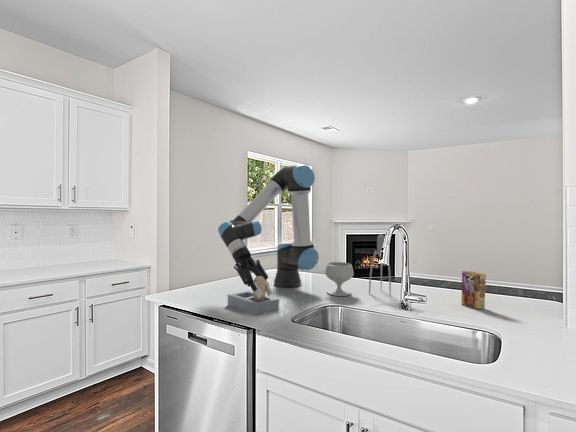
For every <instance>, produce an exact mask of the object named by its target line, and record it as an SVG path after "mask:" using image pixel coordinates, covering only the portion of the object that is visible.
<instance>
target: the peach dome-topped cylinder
mask: <svg viewBox="0 0 576 432" xmlns="http://www.w3.org/2000/svg"><path fill="white" fill-rule="evenodd" d="M253 281H254V282H256V283H257V285H258V287H259V288H260V290H261V292H262V293H263V295H262V297H261V298H259V299H258V297H257V295H256V293H255V292H254V291H253V290H252V291H253V301H256V302H261V301H265V295H266V292H265V279H264V277H262V276H257V277H256V276H255V277H254V278H253ZM254 282H253V283H254Z"/></svg>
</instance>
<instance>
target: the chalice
mask: <svg viewBox="0 0 576 432" xmlns="http://www.w3.org/2000/svg"><path fill="white" fill-rule="evenodd" d="M324 271H325V276H326V277H327V278H328V279H329V280H331V281H332V282H334V283H335V284H336V286H337V288H336V289H331V290H328V291H326V293H327V295H330V296H334V297H346V296H351V295H352V292H351V291H349V290H344V289H342V286H343V284H344V283H345V282H348V281H349V280H351V279H352V278H353V277H354V274H355V273H354V268H353V265H352V264H351V263H349V262H345V261H344V262H342V261H335V262H334V261H332V262H328V263H327V264H326V268H325V270H324Z"/></svg>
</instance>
